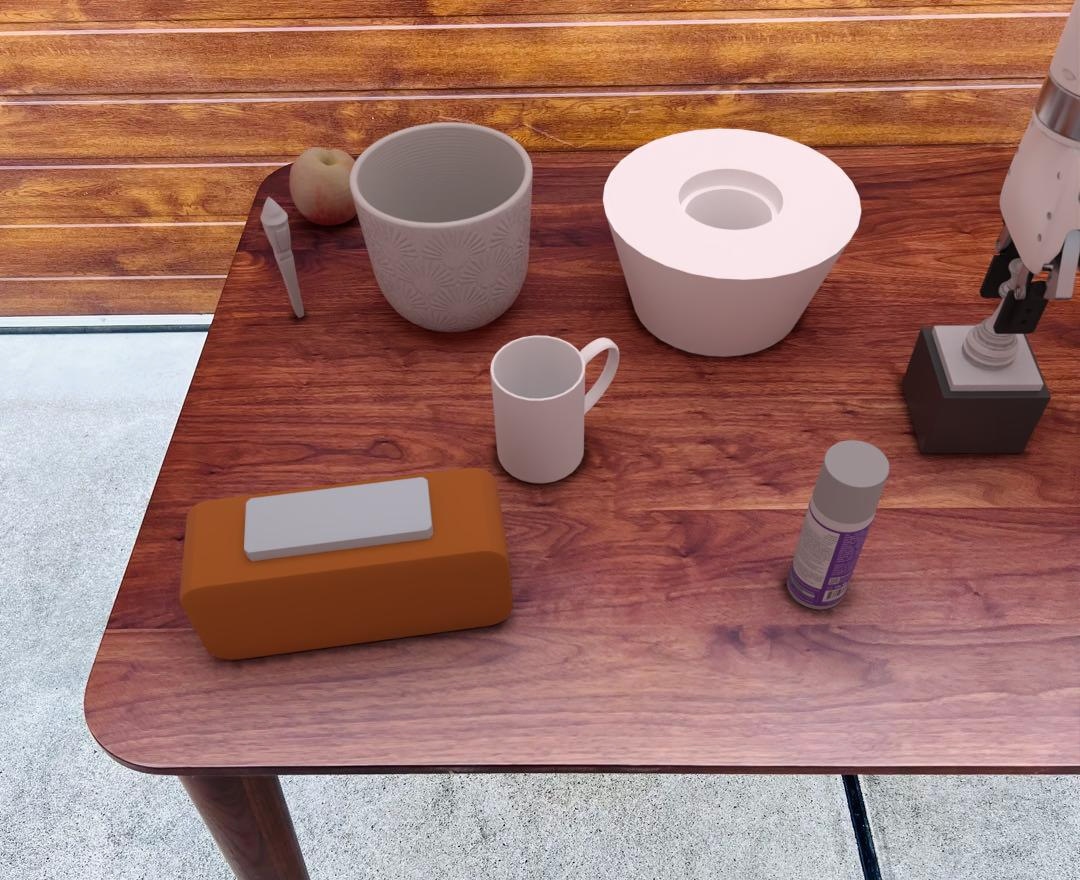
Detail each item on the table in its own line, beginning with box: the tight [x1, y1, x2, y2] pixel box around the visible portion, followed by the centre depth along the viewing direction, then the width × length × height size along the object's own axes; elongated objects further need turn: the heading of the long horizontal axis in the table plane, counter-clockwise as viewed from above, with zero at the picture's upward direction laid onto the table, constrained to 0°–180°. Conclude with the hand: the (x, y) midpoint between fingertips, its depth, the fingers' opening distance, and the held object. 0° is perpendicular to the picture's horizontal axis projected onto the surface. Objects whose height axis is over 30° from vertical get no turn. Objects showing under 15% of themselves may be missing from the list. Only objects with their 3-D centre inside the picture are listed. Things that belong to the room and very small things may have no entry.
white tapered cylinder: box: [602, 128, 862, 358], centre depth 99 cm, size 24×24×12 cm
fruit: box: [288, 146, 357, 226], centre depth 111 cm, size 8×8×8 cm
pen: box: [259, 196, 305, 319], centre depth 99 cm, size 2×3×14 cm
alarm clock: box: [179, 467, 514, 661], centre depth 78 cm, size 24×8×11 cm, turn 98°
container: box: [786, 439, 890, 610], centre depth 76 cm, size 5×5×15 cm
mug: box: [489, 335, 621, 484], centre depth 88 cm, size 12×8×10 cm, turn 124°
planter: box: [349, 121, 534, 333], centre depth 99 cm, size 17×17×15 cm
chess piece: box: [962, 258, 1041, 370], centre depth 83 cm, size 4×4×10 cm
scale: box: [901, 325, 1052, 454], centre depth 90 cm, size 9×9×8 cm
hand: (1005, 311), depth 83 cm, fingers open, 3 cm apart
